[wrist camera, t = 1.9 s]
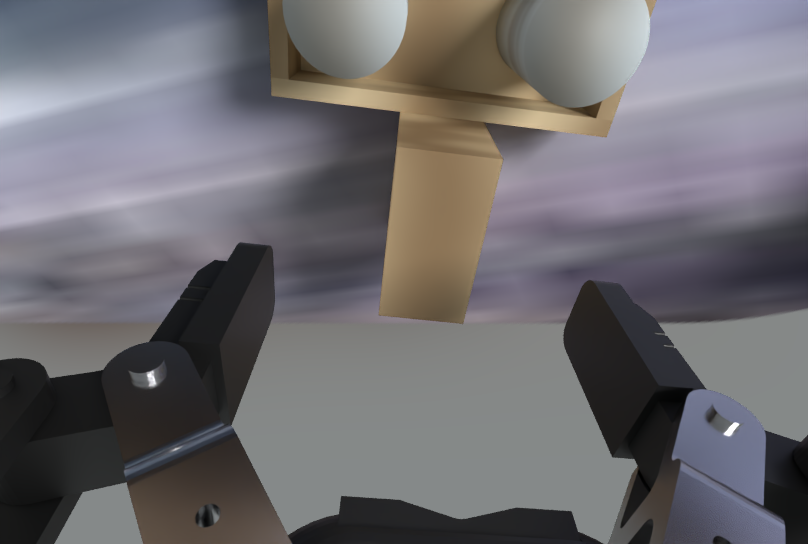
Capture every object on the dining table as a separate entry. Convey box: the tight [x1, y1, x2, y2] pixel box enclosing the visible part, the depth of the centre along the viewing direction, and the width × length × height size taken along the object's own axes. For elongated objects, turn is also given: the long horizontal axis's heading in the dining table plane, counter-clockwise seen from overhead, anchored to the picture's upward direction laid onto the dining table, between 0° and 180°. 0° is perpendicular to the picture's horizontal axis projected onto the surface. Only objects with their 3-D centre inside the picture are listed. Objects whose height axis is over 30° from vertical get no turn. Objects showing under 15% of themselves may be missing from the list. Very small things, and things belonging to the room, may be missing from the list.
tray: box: [267, 0, 656, 324], centre depth 15 cm, size 12×12×7 cm
